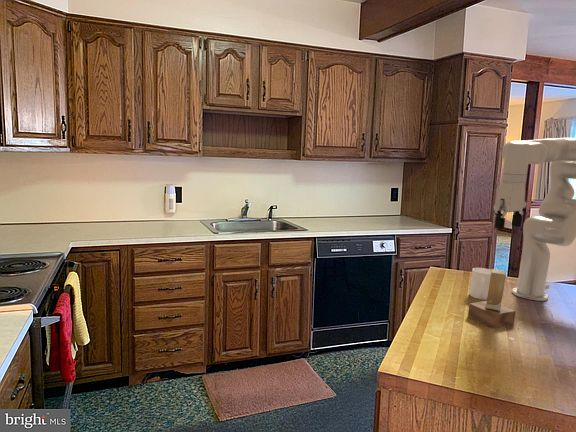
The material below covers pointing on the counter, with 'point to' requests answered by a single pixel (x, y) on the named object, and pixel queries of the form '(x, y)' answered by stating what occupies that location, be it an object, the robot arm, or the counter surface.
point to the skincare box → (496, 289)
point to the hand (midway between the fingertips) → (507, 227)
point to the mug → (480, 283)
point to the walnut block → (491, 315)
